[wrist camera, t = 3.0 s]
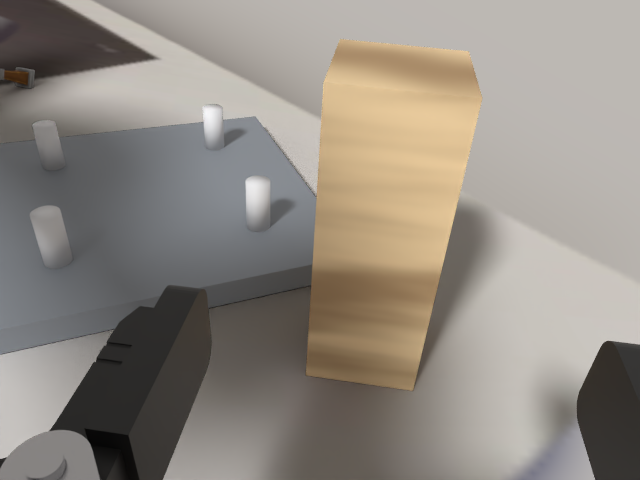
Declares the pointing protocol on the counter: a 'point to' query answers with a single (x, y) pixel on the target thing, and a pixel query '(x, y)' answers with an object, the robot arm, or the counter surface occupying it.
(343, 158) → the oak post
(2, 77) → the orange grey jointed piece
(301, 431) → the counter surface
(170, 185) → the peg board
